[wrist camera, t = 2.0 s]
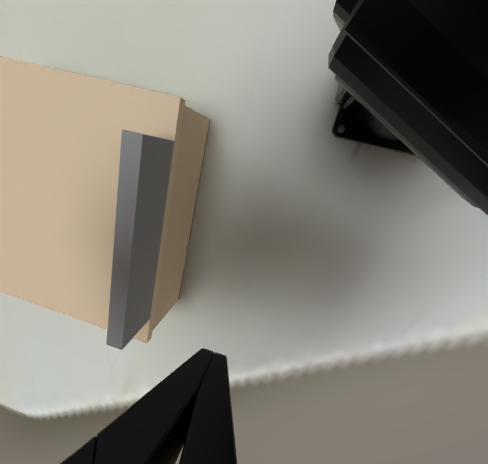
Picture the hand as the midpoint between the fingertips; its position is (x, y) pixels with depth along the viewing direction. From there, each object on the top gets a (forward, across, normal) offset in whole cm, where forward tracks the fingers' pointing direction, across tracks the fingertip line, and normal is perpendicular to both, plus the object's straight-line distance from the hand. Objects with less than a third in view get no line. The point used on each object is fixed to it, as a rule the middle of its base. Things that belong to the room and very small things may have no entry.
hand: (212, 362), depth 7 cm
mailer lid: (+8, +13, 0) cm, 15 cm away
